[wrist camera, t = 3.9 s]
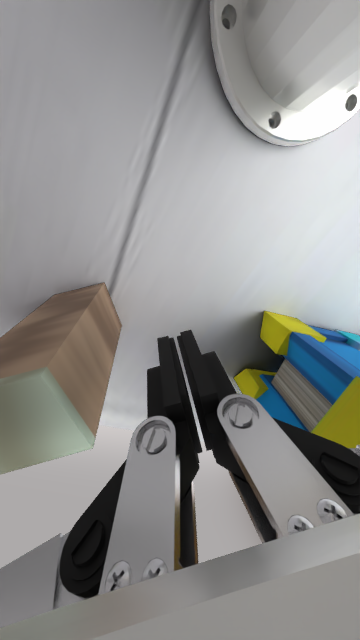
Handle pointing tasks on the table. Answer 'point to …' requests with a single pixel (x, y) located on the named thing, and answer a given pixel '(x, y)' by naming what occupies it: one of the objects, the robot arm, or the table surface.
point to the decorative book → (309, 379)
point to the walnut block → (56, 377)
